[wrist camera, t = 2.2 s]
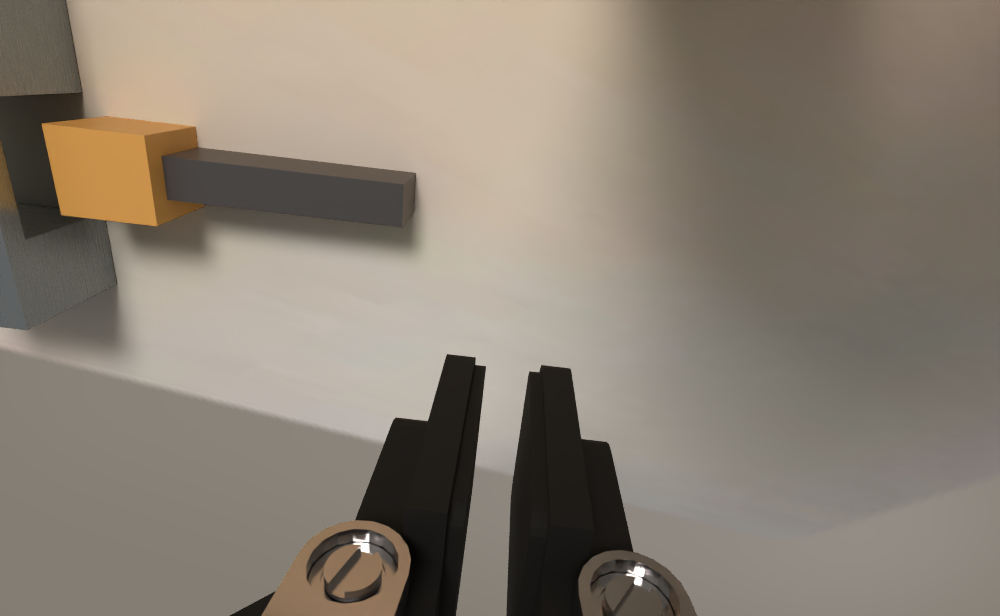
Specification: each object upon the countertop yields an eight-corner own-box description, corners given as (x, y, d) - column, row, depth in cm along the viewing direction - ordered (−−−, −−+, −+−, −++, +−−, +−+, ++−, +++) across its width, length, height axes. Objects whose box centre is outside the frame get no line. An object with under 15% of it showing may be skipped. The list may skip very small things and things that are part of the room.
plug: (82, 113, 27) (13, 120, 24) (416, 152, 27) (399, 165, 24) (97, 193, 29) (35, 211, 25) (413, 230, 29) (396, 254, 25)
